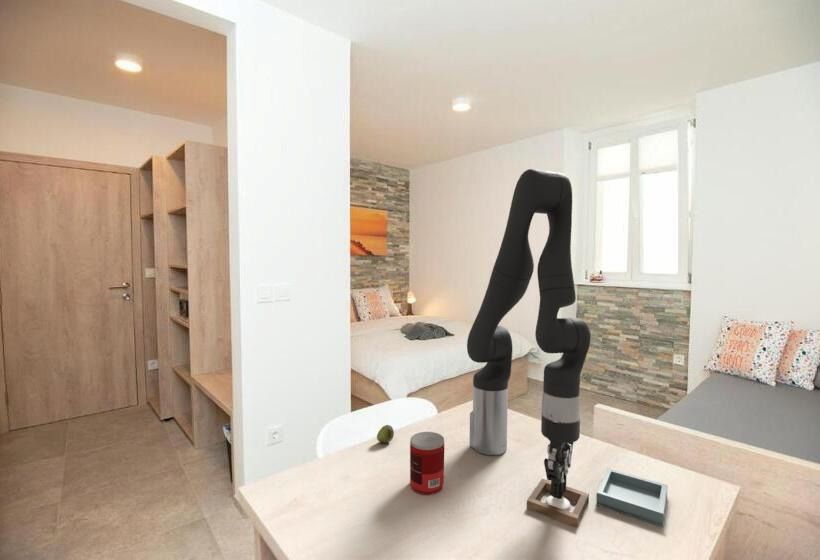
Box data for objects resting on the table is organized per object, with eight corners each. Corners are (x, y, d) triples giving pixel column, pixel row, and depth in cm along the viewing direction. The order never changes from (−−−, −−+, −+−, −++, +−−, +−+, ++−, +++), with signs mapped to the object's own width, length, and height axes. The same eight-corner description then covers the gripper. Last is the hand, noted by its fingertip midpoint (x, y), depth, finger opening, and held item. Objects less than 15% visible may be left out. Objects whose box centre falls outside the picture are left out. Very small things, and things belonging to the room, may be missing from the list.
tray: (596, 504, 86) (596, 492, 86) (607, 478, 96) (607, 468, 96) (662, 526, 79) (663, 513, 79) (667, 496, 89) (667, 485, 89)
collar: (526, 508, 85) (526, 500, 84) (541, 486, 93) (542, 478, 93) (577, 527, 79) (577, 518, 79) (588, 501, 87) (589, 493, 87)
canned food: (448, 480, 95) (449, 434, 94) (436, 499, 88) (436, 450, 87) (418, 473, 98) (418, 428, 97) (404, 490, 91) (404, 443, 90)
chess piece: (572, 514, 83) (574, 466, 82) (547, 510, 84) (548, 464, 83) (568, 499, 88) (569, 454, 87) (544, 497, 89) (545, 452, 88)
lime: (375, 445, 112) (375, 427, 112) (380, 437, 117) (380, 420, 117) (391, 447, 111) (391, 429, 111) (395, 439, 116) (395, 422, 116)
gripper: (552, 400, 92) (550, 473, 93) (531, 420, 81) (529, 504, 82) (587, 407, 88) (585, 484, 89) (570, 430, 77) (568, 518, 78)
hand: (558, 493), depth 86 cm, fingers closed on chess piece
